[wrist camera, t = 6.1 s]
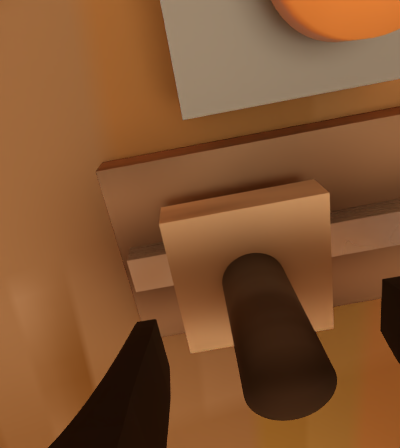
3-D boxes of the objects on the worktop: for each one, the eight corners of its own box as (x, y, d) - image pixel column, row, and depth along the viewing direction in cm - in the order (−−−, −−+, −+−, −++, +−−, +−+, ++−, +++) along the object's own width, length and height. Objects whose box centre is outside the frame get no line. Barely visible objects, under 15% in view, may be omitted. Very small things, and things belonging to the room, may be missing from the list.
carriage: (311, 289, 18) (401, 444, 10) (188, 311, 18) (195, 478, 11) (304, 170, 15) (415, 266, 8) (162, 197, 15) (147, 314, 8)
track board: (551, 249, 20) (580, 263, 18) (149, 320, 20) (146, 339, 19) (597, 69, 16) (636, 70, 14) (102, 162, 16) (95, 171, 15)
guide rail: (589, 195, 17) (618, 205, 16) (138, 277, 17) (136, 292, 16) (598, 162, 16) (629, 169, 15) (130, 247, 16) (126, 261, 15)
